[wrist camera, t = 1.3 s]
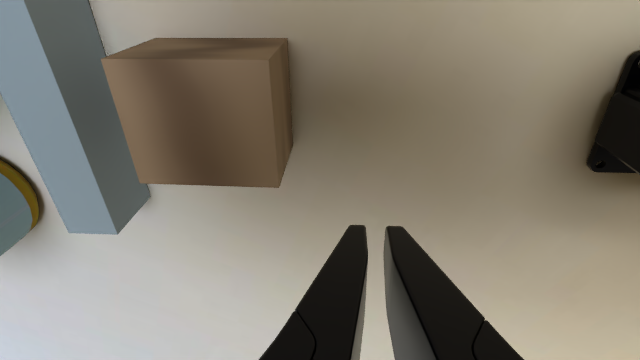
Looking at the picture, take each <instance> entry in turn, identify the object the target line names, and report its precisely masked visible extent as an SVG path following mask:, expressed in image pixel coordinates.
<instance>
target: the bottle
mask: <svg viewBox="0 0 640 360" xmlns="http://www.w3.org/2000/svg"><path fill="white" fill-rule="evenodd" d="M38 216H39V208H38V201H37V196H36V194H35V192H34V191H33V189H32V187H31V185H30V184H29V183H28V181H27V180H26V179H25V178H24V177H23V176H22V175H21V174H20V173H19V172H18V171H16V170H15V169H14V168H12V167H11V166H10V165H8V164H7V163H5V162H3V161H1V160H0V256H1V255H2V254H4V253H5V252H6V251H7V250H8V249H10V248H11V247H12V246H13V245H14V244H16V243H17V242H18V241H19V240H20V239H22V238H23V237H24V236H25V235H26V234H27V233H28V232H29V231H30V230H31V229H32V228H33V227H34V226H35V225H36V224H37V221H38Z"/></svg>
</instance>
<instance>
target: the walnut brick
mask: <svg viewBox="0 0 640 360" xmlns="http://www.w3.org/2000/svg"><path fill="white" fill-rule="evenodd" d="M101 62H102V65H103V68H104V71H105V75H106V78H107V81H108V84H109V87H110V90H111V94H112V97H113V100H114V103H115V106H116V109H117V113H118V116H119V119H120V122H121V125H122V128H123V132H124V135H125V138H126V141H127V144H128V147H129V151H130V154H131V157H132V160H133V163H134V166H135V170H136V173H137V176H138V179H139V182H140V183H145V184H177V185H209V186H242V187H274V188H279V186H280V183H281V180H282V177H283V174H284V171H285V168H286V165H287V162H288V159H289V156H290V153H291V150H292V146H293V133H292V115H291V96H290V78H289V60H288V42H287V38H155V39H152V40H149V41H147V42H144V43H141V44H139V45H136V46H133V47H131V48H128V49H126V50H123V51H120V52H118V53H115V54H112V55H110V56H107V57H104V58H102V59H101Z"/></svg>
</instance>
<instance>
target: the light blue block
mask: <svg viewBox="0 0 640 360" xmlns="http://www.w3.org/2000/svg"><path fill="white" fill-rule="evenodd" d="M104 57H106V55H105V52H104V49H103V46H102V42H101V39H100V36H99V33H98V30H97V27H96V24H95V20H94V17H93V14H92V11H91V8H90V5H89V2H88V0H0V93H1V95H2V97H3V99H4V101H5V103H6V105H7V107H8V109H9V112H10V114H11V116H12V118H13V120H14V122H15V124H16V126H17V128H18V130H19V132H20V134H21V136H22V138H23V140H24V142H25V144H26V146H27V148H28V150H29V152H30V154H31V157H32V159H33V161H34V163H35V165H36V167H37V169H38V171H39V173H40V175H41V177H42V179H43V181H44V183H45V185H46V187H47V189H48V191H49V193H50V195H51V197H52V200H53V202H54V204H55V206H56V208H57V210H58V212H59V214H60V216H61V218H62V220H63V222H64V224H65V226H66V228H67V230H68V232H69V233H85V234H117V235H118V233H119V232H120V231H121V230H122V229H123V228H124V227H125V225H126V224H127V223H128V222H129V221H130V220H131V218H132V217H133V216H134V215H135V214H136V213H137V212H138V210H139V209H140V208H141V207H142V206H143V205H144V203H145V202H146V201H147V200H148V199H149V198H150V197H151V196H150V193H149V190H148V187H147V184H145V183H140V182H139V179H138V176H137V173H136V170H135V166H134V163H133V160H132V157H131V154H130V151H129V147H128V144H127V141H126V138H125V135H124V132H123V128H122V125H121V122H120V119H119V116H118V113H117V109H116V106H115V103H114V100H113V97H112V94H111V90H110V87H109V84H108V81H107V78H106V75H105V71H104V68H103V65H102V62H101V59H102V58H104Z"/></svg>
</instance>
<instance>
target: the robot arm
mask: <svg viewBox="0 0 640 360" xmlns="http://www.w3.org/2000/svg"><path fill="white" fill-rule="evenodd" d="M639 61H640V51H638V52H636V53H634V54H633V55H632V56H630V58H629V59H628V61H627V63H626V66H625V68H624V71H623V73H622V76H621V78H620V81H619V83H618V86H617V88H616V91H615V93H614V96H613V97H612V98H611V100H610V103H609V105H608V108H607V110H606V113H605V115H604V118H603V120H602V123H601V125H600V128H599V130H598V133H597V135H596V138H595V143H594V145H593V148H592V150H591V153H590V155H589V158H588V160H587V166H588V167H589V168H590V169H591V170H593V171H594V172H612V173H638V174H639V175H640V66H638V63H639ZM599 161H601V162H600V163H599V164H598V165H596V163H597V162H599ZM367 264H368V249H367V236H366V227H365V226H364V225H350V226H349V227H348V229H347V230H346V232H345V233H344V235H343V236H342V238H341V239H340V241H339V242H338V244H337V246H336V247H335V249H334V250H333V252H332V253H331V255H330V256H329V258H328V259H327V261H326V263H325V264H324V266H323V267H322V269H321V270H320V272H319V273H318V275H317V276H316V278H315V280H314V281H313V283H312V284H311V286H310V287H309V289H308V290H307V292H306V293H305V295H304V297H303V298H302V300H301V301H300V303H299V304H298V306H297V307H296V309H295V311H294V312H293V313H292V315H291V316H290V318H289V320H288V321H287V323H286V324H285V326H284V327H283V328H282V330H281V331H280V333H279V334H278V336H277V337H276V338H275V340H274V341H273V342H272V344H271V345H270V346H269V347H268V349H267V350H266V351H265V352H264V354H263V355H262V356H261V357H260V359H259V360H360V351H361V343H362V334H363V325H364V315H365V299H366V282H367ZM384 276H385V295H386V310H387V317H388V324H389V329H390V335H391V340H392V346H393V351H394V357H395V360H524V359H523V358H522V357H521V356H520V355H519V354H518V353H517V352H516V351H515V350H514V349H513V348H512V347H511V346H510V345H509V344H508V343H507V342H506V341H505V339H504V338H503V337H502V336H501V335H500V334H499V333H498V332H497V331H496V330H495V329H494V328H493V326H492V325H491V324H490V323H489V322H488V321H487V320H485V318H484V317H483V316H482V314H481V313H480V312H479V311H478V310H477V309H476V308H475V307H474V306H473V304H472V303H471V302H470V301H469V300H468V299H467V298H466V297H465V296H464V294H463V293H462V292H461V291H460V290H459V289H458V288H457V287H456V286H455V284H454V283H453V282H452V281H451V280H450V279H449V278H448V277H447V276H446V274H445V273H444V272H443V271H442V270H441V269H440V268H439V267H438V266H437V264H436V263H435V262H434V261H433V260H432V259H431V258H430V257H429V256H428V254H427V253H426V252H425V251H424V250H423V249H422V248H421V247H420V246H419V244H418V243H417V242H416V241H415V240H414V239H413V238H412V237H411V236H410V234H409V233H408V232H407V231H406V230H405V229H404V228H403V227H401V226H387V227H386V230H385V241H384ZM484 320H485V321H484Z"/></svg>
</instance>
